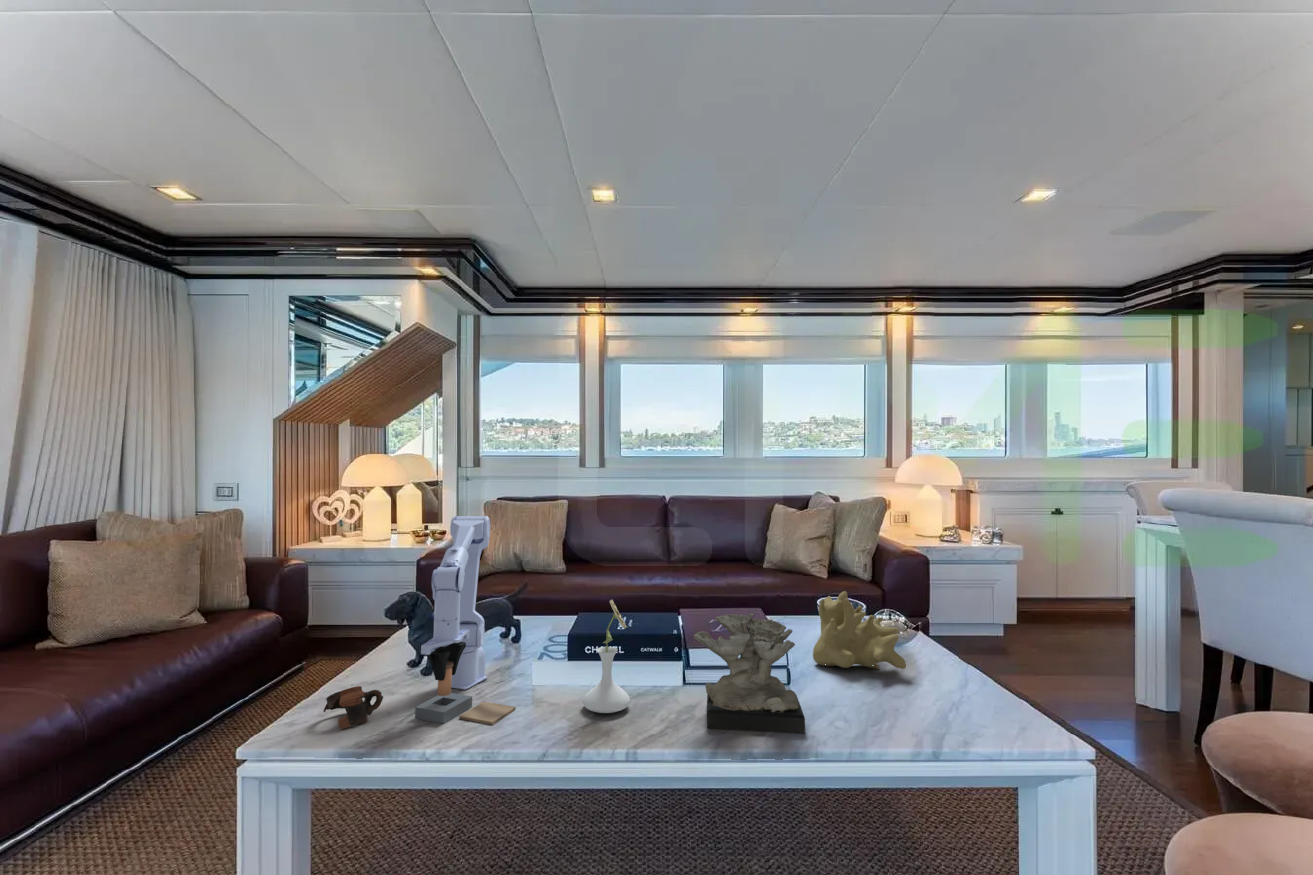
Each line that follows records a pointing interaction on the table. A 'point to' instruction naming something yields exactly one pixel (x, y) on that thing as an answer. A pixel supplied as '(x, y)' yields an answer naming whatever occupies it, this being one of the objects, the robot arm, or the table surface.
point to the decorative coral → (853, 637)
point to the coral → (751, 678)
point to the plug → (446, 681)
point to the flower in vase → (607, 679)
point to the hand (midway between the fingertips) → (445, 677)
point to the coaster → (487, 713)
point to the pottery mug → (354, 705)
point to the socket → (443, 708)
